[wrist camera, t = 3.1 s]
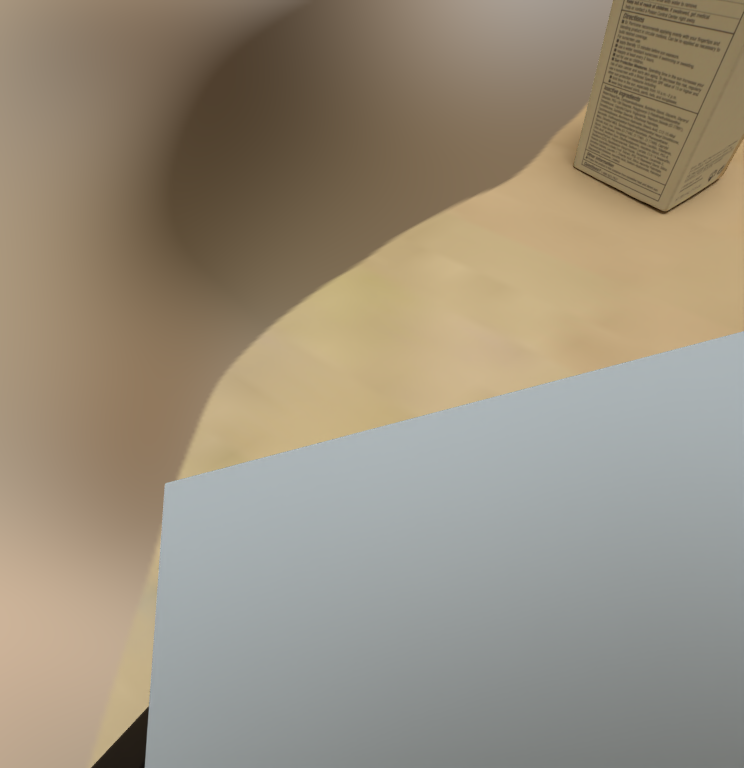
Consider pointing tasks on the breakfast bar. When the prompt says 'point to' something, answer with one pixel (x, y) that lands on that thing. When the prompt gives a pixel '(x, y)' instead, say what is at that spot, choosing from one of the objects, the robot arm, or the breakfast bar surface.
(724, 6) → the skincare box
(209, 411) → the breakfast bar surface
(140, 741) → the robot arm
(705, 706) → the pillar
